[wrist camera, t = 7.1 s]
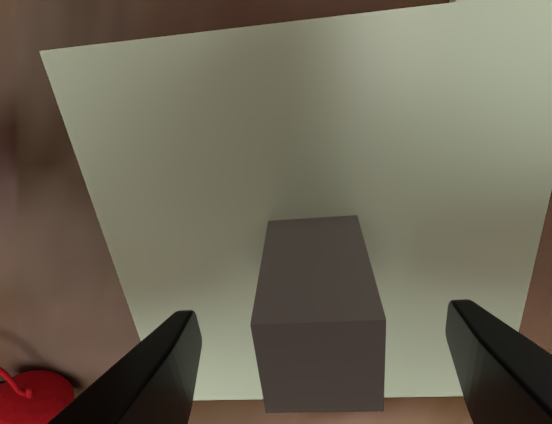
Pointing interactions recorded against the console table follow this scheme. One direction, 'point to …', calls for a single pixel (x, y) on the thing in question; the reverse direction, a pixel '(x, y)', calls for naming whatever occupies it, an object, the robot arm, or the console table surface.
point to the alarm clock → (33, 397)
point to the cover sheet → (321, 189)
